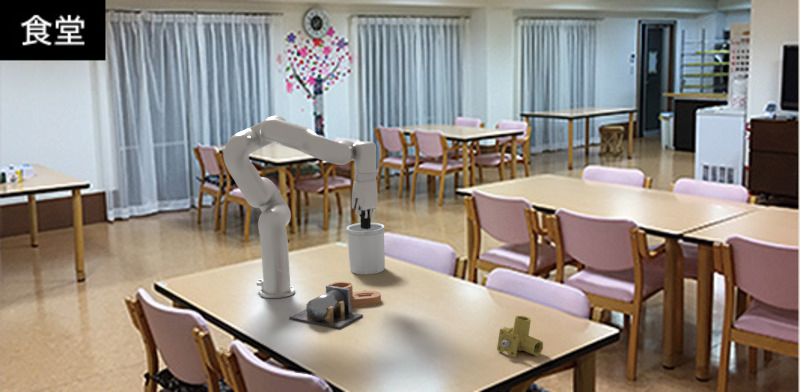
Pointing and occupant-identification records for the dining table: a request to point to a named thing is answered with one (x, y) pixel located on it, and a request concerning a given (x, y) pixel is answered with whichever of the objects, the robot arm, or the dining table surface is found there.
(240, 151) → the robot arm
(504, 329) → the ball valve
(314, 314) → the pipe stub
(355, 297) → the bracket
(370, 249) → the utensil holder
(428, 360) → the dining table surface
